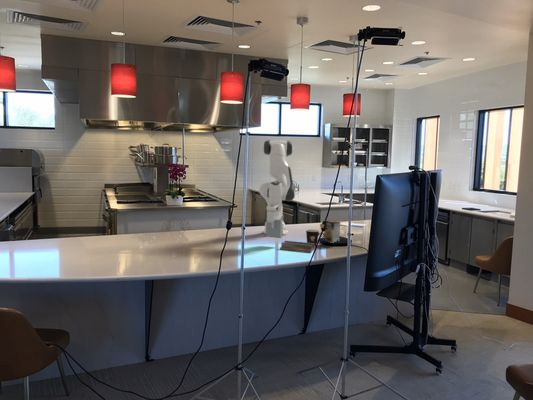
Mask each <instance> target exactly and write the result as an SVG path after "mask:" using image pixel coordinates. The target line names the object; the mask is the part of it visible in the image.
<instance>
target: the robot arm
mask: <svg viewBox="0 0 533 400" xmlns="http://www.w3.org/2000/svg"><path fill="white" fill-rule="evenodd" d="M294 149H295V148H294V144H293V142H292V141H290V140H280V139H279V140H278V139H277V140H270V139H269V140H265V141H264V143H263V144H262V151H263V153H264V154H265V155H267V156H269V175H270V177H272V178H274V179H275V181H271V182H265V183H264V182H263V183H261V184H260V186H259V190H258V191H259V195H261V197H263V198H264V199H265V201H266V204H267V206H266V208H265V209H266V211H267V212H266V221H267V222H270V223H271V225H272V228H274V227H275V225H274V223H275V221H276V220H277V219H282V236H287V234H288V233H289V230H287V229H286V224H285V222H284V214H283V210H284V209H283V207H284V206H283V201H286V202H291V201H293V200H294V199H295V197H296V190H295V188H294V180H293V175H292V169H291V165H290V164H288V163H287V161H286V158H288V157H289V156H291V155H292V154H293V152H294ZM266 221H265V222H264V230H263V231H262V234H264V235H266Z"/></svg>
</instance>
